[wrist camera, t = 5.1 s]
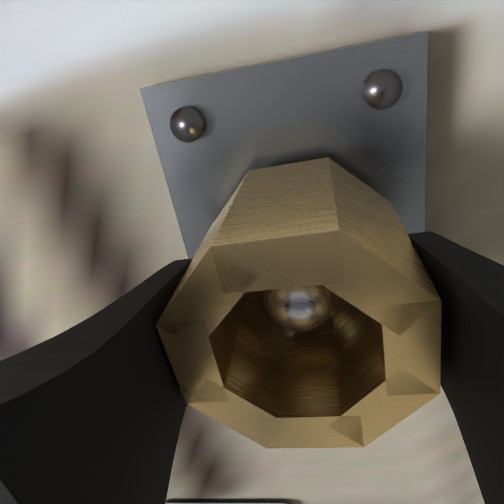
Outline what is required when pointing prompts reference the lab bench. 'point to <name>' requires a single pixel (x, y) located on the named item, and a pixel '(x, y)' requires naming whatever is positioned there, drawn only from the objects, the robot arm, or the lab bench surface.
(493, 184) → the lab bench surface
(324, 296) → the block
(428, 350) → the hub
